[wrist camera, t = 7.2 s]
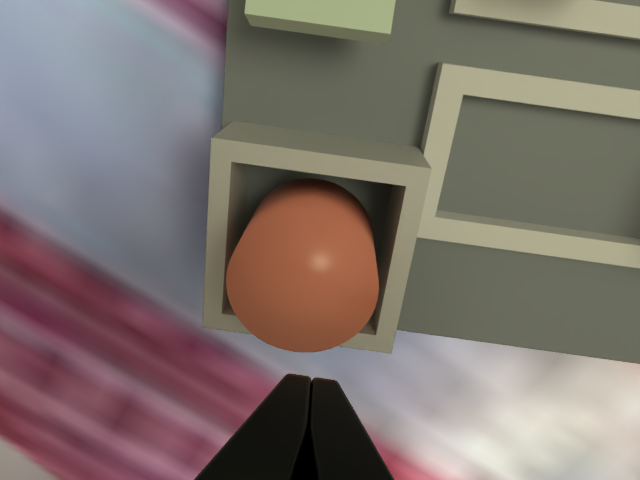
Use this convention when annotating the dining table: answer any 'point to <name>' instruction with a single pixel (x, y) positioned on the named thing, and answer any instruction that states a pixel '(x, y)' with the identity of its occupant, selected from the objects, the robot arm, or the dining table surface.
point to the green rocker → (326, 17)
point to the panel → (454, 165)
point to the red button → (305, 267)
